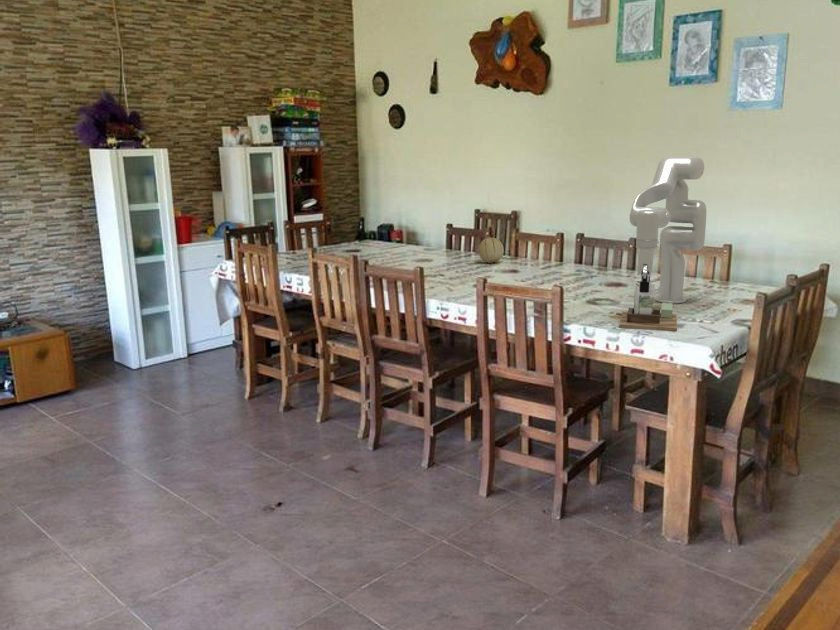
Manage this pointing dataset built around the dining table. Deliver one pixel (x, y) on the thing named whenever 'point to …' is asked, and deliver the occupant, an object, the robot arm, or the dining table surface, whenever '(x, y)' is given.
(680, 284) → the robot arm
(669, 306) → the bar
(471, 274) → the dining table surface
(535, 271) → the dining table surface
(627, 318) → the socket board
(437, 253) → the dining table surface
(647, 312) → the syrup box
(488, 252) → the cantaloupe
